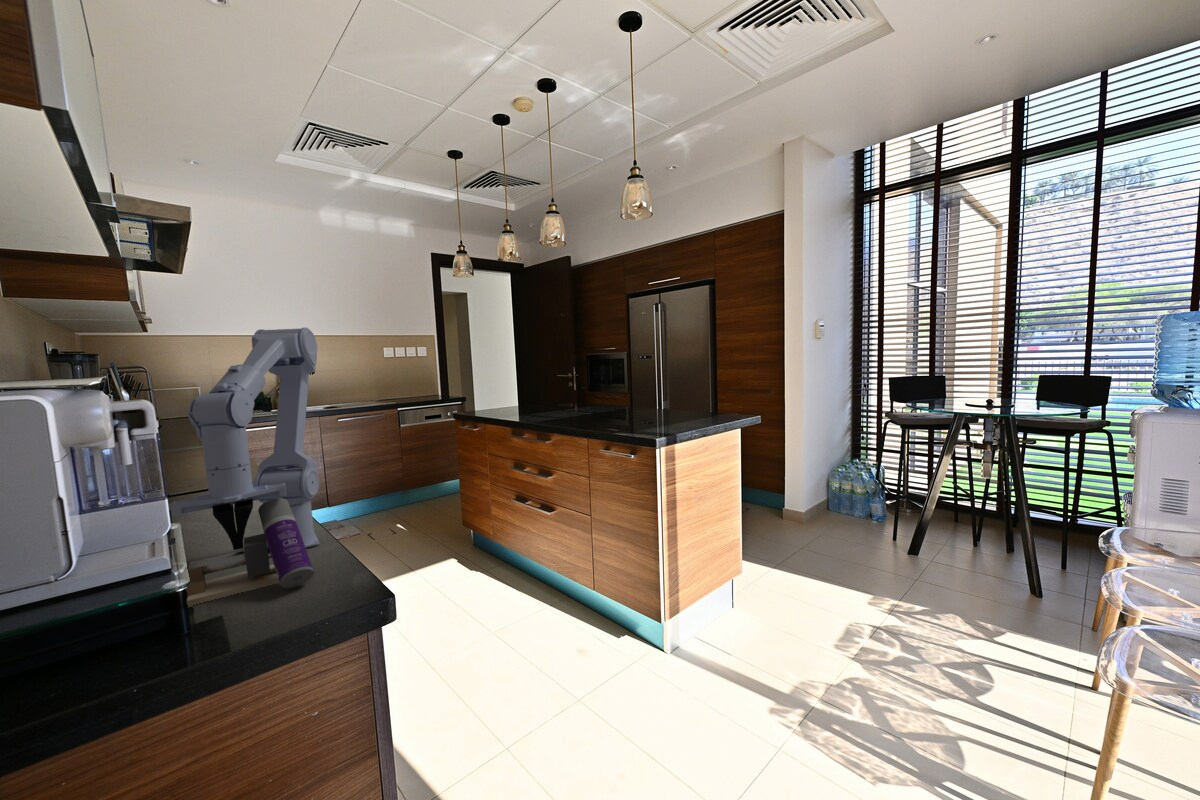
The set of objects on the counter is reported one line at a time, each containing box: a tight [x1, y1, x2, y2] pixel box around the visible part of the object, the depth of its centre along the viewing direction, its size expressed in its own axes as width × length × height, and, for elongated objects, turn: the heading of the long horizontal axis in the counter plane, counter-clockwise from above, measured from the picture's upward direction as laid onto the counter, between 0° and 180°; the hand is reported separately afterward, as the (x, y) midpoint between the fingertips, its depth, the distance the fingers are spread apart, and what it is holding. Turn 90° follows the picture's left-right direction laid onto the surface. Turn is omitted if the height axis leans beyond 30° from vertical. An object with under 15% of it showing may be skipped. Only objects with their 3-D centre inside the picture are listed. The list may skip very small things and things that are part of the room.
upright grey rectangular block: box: [243, 533, 271, 577], centre depth 80 cm, size 5×3×5 cm, turn 37°
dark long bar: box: [188, 544, 272, 575], centre depth 79 cm, size 3×13×3 cm, turn 127°
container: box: [257, 498, 315, 589], centre depth 80 cm, size 5×5×15 cm
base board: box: [186, 563, 280, 608], centre depth 79 cm, size 7×14×5 cm, turn 127°
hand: (238, 547), depth 78 cm, fingers closed
